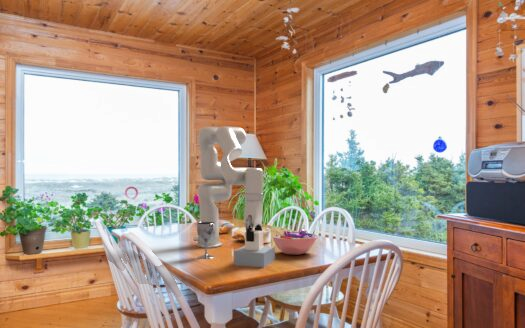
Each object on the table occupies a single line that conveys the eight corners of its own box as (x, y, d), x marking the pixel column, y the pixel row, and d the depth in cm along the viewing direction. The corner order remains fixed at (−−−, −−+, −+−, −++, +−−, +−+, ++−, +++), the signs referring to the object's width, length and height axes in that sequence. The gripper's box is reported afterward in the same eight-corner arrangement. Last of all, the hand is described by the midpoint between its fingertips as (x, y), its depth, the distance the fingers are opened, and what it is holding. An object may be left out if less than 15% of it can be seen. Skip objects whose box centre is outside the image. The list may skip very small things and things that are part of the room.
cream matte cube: (245, 249, 156) (244, 232, 156) (249, 246, 161) (249, 230, 161) (259, 250, 154) (258, 233, 154) (263, 247, 160) (263, 230, 160)
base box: (233, 265, 154) (233, 250, 154) (246, 258, 166) (246, 244, 166) (264, 268, 149) (263, 253, 149) (275, 260, 161) (274, 246, 161)
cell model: (273, 250, 181) (272, 226, 181) (315, 249, 181) (314, 225, 181) (272, 258, 164) (272, 232, 164) (319, 258, 164) (319, 231, 164)
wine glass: (200, 259, 163) (199, 224, 163) (194, 256, 170) (194, 222, 170) (217, 257, 166) (217, 223, 167) (211, 254, 173) (211, 221, 174)
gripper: (252, 196, 167) (253, 235, 167) (237, 199, 151) (237, 242, 151) (269, 196, 165) (269, 236, 165) (255, 199, 148) (255, 243, 148)
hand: (254, 239), depth 158 cm, fingers open, 9 cm apart
